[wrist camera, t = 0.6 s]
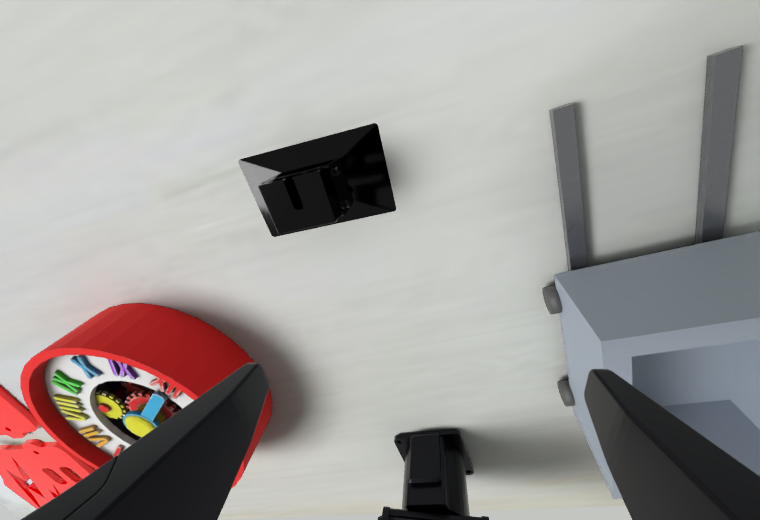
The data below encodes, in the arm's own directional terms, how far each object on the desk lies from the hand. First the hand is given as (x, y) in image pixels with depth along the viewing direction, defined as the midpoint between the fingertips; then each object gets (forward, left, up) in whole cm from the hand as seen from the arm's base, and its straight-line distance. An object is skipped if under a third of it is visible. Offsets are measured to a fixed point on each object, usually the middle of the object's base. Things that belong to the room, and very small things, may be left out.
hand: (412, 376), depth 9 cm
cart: (-12, -12, -14) cm, 22 cm away
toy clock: (-10, +29, -14) cm, 34 cm away
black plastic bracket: (+4, +6, -14) cm, 16 cm away
